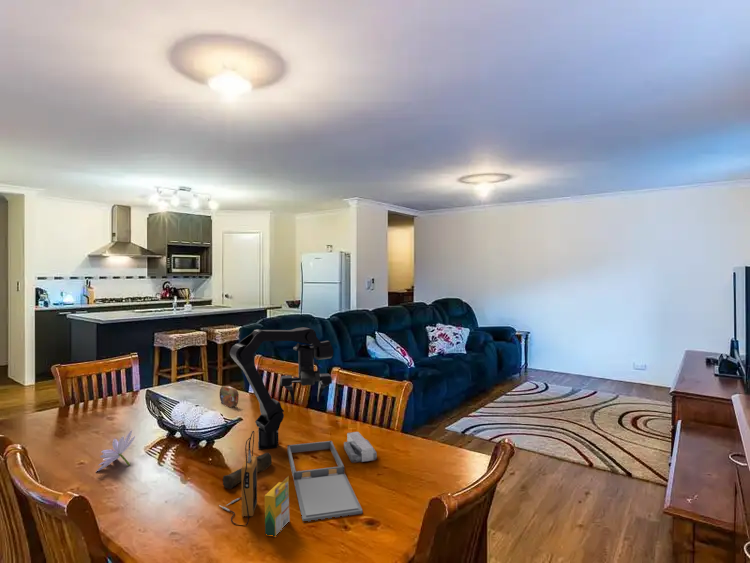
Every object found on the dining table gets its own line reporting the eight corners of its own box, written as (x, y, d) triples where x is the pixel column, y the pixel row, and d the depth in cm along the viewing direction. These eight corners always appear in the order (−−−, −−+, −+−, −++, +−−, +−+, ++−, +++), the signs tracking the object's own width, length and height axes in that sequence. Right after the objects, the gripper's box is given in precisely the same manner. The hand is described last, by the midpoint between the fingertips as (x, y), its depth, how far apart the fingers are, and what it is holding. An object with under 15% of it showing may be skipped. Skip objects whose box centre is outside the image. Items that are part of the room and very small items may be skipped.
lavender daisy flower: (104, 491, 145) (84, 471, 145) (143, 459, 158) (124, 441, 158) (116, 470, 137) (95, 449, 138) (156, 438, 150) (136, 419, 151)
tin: (219, 402, 218) (218, 384, 217) (225, 400, 220) (225, 383, 219) (233, 409, 206) (233, 390, 206) (239, 407, 209) (239, 389, 208)
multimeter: (223, 498, 127) (222, 426, 126) (259, 496, 128) (259, 425, 127) (208, 527, 112) (207, 447, 112) (249, 526, 113) (249, 445, 113)
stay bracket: (351, 462, 150) (351, 455, 150) (344, 448, 161) (344, 442, 161) (376, 459, 152) (376, 452, 152) (367, 446, 164) (367, 439, 164)
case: (302, 522, 115) (302, 512, 115) (287, 452, 158) (287, 445, 158) (362, 513, 119) (362, 503, 119) (331, 447, 162) (331, 440, 162)
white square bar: (361, 461, 149) (361, 449, 148) (347, 444, 164) (347, 433, 163) (373, 460, 150) (373, 448, 150) (357, 442, 165) (357, 431, 165)
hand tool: (231, 491, 131) (231, 475, 131) (222, 487, 133) (221, 472, 133) (277, 466, 147) (277, 452, 147) (268, 464, 150) (268, 450, 149)
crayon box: (279, 519, 116) (279, 474, 116) (289, 521, 115) (289, 475, 115) (264, 535, 109) (264, 487, 109) (275, 537, 108) (275, 489, 108)
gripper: (281, 366, 162) (281, 410, 163) (334, 364, 167) (334, 407, 167) (280, 360, 173) (280, 401, 174) (329, 358, 178) (329, 398, 178)
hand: (306, 402), depth 173 cm, fingers open, 9 cm apart
